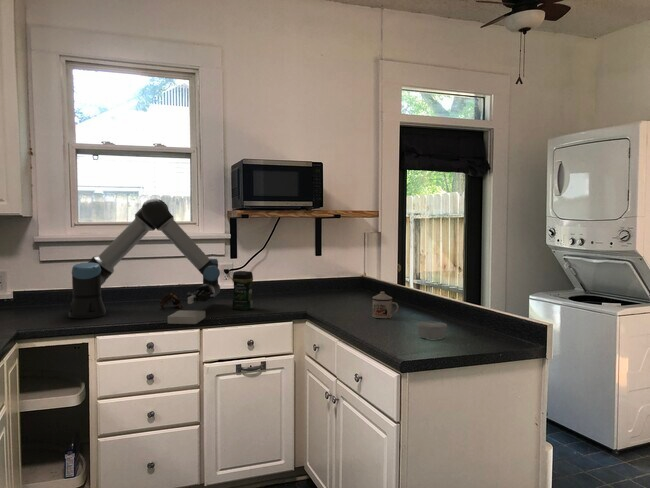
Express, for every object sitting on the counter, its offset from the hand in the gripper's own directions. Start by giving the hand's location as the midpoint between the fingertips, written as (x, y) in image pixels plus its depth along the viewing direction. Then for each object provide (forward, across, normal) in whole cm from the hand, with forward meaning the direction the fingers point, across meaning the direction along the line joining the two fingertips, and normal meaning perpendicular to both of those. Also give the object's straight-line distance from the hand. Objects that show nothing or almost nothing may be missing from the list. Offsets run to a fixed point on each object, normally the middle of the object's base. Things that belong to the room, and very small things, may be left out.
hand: (189, 300), depth 222 cm
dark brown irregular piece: (-26, +18, -8) cm, 33 cm away
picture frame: (-4, 0, -7) cm, 8 cm away
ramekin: (+27, -101, -8) cm, 105 cm away
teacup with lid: (-9, -86, -8) cm, 87 cm away
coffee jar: (-26, -18, -8) cm, 32 cm away
